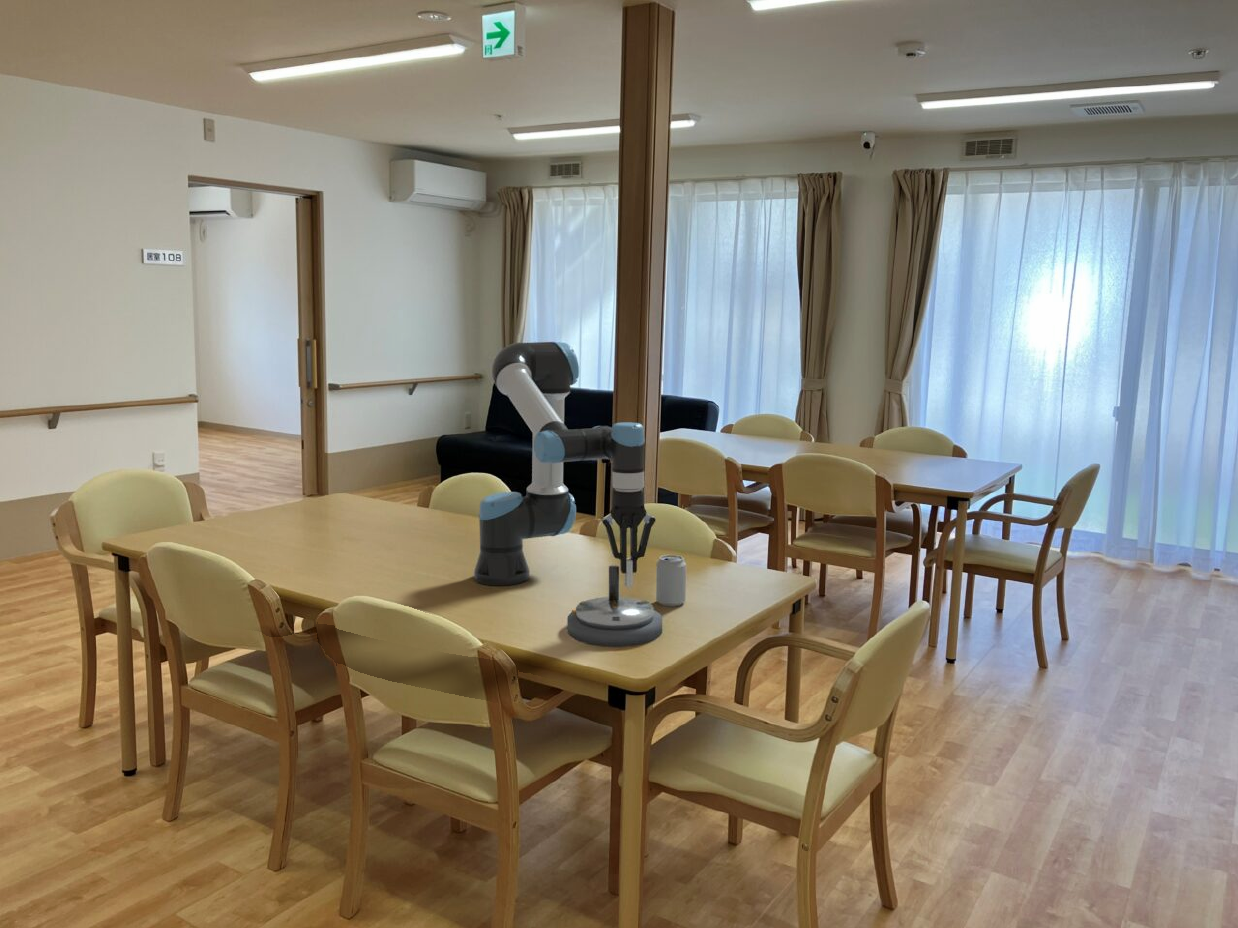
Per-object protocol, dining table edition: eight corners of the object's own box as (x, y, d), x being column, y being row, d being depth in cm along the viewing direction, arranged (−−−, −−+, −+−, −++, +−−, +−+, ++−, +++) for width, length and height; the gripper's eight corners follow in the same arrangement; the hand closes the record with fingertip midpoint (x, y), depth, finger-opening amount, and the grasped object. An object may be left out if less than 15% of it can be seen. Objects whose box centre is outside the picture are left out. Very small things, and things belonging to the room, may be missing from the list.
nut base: (572, 648, 212) (572, 633, 212) (563, 617, 234) (563, 602, 233) (670, 644, 215) (670, 628, 215) (653, 613, 237) (653, 599, 236)
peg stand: (601, 634, 212) (601, 590, 210) (562, 612, 227) (561, 571, 225) (669, 620, 221) (669, 578, 220) (626, 600, 236) (626, 560, 235)
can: (654, 598, 249) (654, 553, 247) (683, 598, 250) (684, 553, 248) (658, 607, 242) (658, 561, 240) (687, 607, 242) (688, 560, 240)
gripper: (652, 484, 232) (652, 580, 235) (598, 486, 229) (599, 583, 233) (658, 490, 224) (658, 588, 228) (603, 492, 222) (604, 591, 226)
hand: (628, 585), depth 231 cm, fingers closed
